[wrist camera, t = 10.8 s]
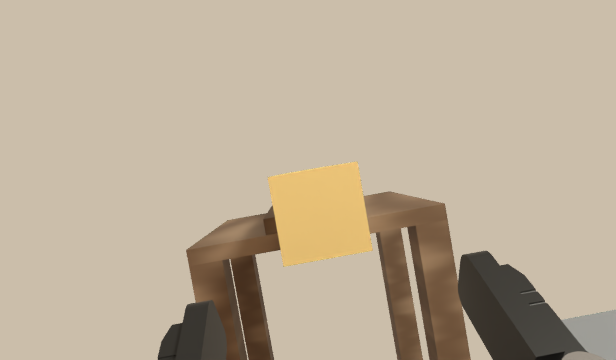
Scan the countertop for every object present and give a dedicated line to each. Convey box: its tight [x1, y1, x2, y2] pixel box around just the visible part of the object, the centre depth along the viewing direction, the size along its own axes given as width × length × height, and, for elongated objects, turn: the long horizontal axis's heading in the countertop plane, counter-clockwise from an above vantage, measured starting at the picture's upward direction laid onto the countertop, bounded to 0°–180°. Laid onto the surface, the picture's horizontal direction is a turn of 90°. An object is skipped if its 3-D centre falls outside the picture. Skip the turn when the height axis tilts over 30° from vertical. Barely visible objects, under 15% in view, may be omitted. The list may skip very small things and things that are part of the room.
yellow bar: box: [268, 162, 372, 267], centre depth 26 cm, size 4×22×4 cm, turn 2°
